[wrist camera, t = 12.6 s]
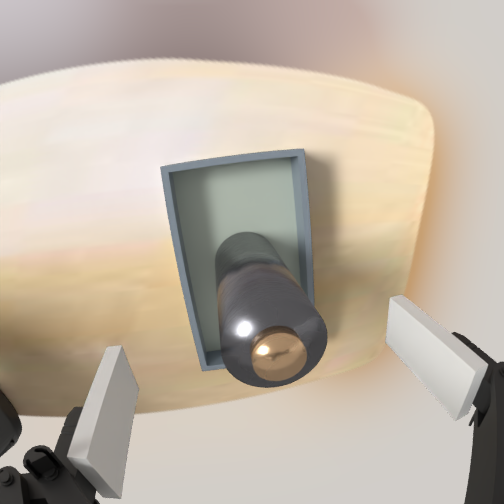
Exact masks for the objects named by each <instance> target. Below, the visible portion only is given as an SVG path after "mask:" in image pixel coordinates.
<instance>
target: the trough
mask: <svg viewBox="0 0 504 504" xmlns="http://www.w3.org/2000/svg"><path fill="white" fill-rule="evenodd" d="M160 168H161V175H162V182H163V188H164V195H165V201H166V207H167V213H168V219H169V224H170V230H171V235H172V241H173V246H174V251H175V256H176V261H177V266H178V271H179V276H180V281H181V285H182V290H183V295H184V299H185V304H186V308H187V312H188V317H189V321H190V325H191V329H192V333H193V337H194V341H195V345H196V349H197V353H198V357H199V361H200V365H201V369H202V371H209V370H217V369H224V368H226V367H225V365H224V363H223V360H222V356H221V347H220V334H219V321H218V308H217V293H216V277H215V255H216V252H217V250H218V248H219V246H220V245H221V244H222V242H223V241H224V240H225V239H227V238H228V237H230V236H231V235H233V234H236V233H240V232H254V233H257V234H260V235H262V236H263V237H265V238H266V239H267V240H268V241H269V242H270V243H271V244H272V246H273V247H274V249H275V250H276V251H277V253H278V254H279V256H280V257H281V259H282V260H283V262H284V263H285V265H286V266H287V267H288V269H289V270H290V272H291V273H292V275H293V276H294V278H295V279H296V281H297V282H298V284H299V285H300V286H301V288H302V289H303V291H304V292H305V294H306V295H307V297H308V298H309V300H310V301H311V303H312V304H313V306H314V281H313V259H312V241H311V225H310V211H309V198H308V185H307V174H306V163H305V153H304V149H290V150H278V151H268V152H258V153H249V154H241V155H233V156H225V157H217V158H210V159H203V160H197V161H190V162H184V163H178V164H172V165H167V166H162V167H160Z"/></svg>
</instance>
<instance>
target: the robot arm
mask: <svg viewBox="0 0 504 504" xmlns="http://www.w3.org/2000/svg"><path fill="white" fill-rule="evenodd" d="M385 343H386V344H387V345H388V346H389V347H390V348H391V349H392V350H393V351H394V352H395V353H396V355H397V356H399V358H400V359H401V360H402V361H403V362H404V363H405V365H406V366H407V367H408V368H409V369H410V370H411V371H412V372H413V373H414V375H415V376H416V377H417V378H418V379H419V380H420V381H421V382H422V384H423V385H424V386H425V387H426V388H427V389H428V390H429V392H430V393H431V394H432V395H433V396H434V397H435V398H436V400H437V401H438V402H439V403H440V404H441V405H442V406H443V408H444V409H445V410H446V411H447V412H448V413H449V415H450V416H451V417H452V418H453V419H454V420H455V421H457V420H458V419H460V418H462V417H463V416H465V415H467V414H468V413H469V410H470V408H471V406H472V404H473V405H474V406H475V407H476V410H475V413H474V415H473V417H472V419H471V421H470V423H469V426H471V425H472V423H473V421H474V433H473V446H472V456H471V465H470V473H469V480H468V486H467V492H466V497H465V503H464V504H504V362H499V363H496V362H495V361H494V360H493V359H492V358H490V357H489V356H488V355H487V354H486V353H484V352H483V351H482V350H481V349H480V348H477V346H476V345H475V344H473V343H471V341H470V340H468V339H467V338H466V337H465V336H463V335H461V334H458V333H456V332H453V333H450V332H449V331H448V330H446V329H445V328H444V327H443V326H442V325H440V324H439V323H438V322H437V321H435V320H434V319H433V318H432V317H430V316H429V315H428V314H427V313H425V312H424V311H423V310H421V309H420V308H419V307H417V306H416V305H415V304H414V303H412V302H411V301H410V300H409V299H407V298H406V297H405V296H403V295H402V294H401V295H398V296H394V297H390V301H389V312H388V322H387V331H386V339H385ZM138 392H139V387H138V385H137V383H136V380H135V378H134V375H133V373H132V371H131V368H130V366H129V363H128V360H127V358H126V355H125V353H124V350H123V347H122V345H120V346H109V347H107V348H106V351H105V353H104V356H103V358H102V360H101V363H100V365H99V368H98V370H97V373H96V375H95V378H94V380H93V383H92V386H91V388H90V391H89V393H88V396H87V399H86V401H85V404H84V407H74V408H73V410H72V411H71V412H70V413H69V414H68V415H67V418H66V420H65V423H64V427H63V428H62V431H61V434H60V436H59V439H58V442H57V445H56V447H55V450H54V453H53V452H52V450H51V449H50V448H49V447H46V446H41V445H39V446H35V447H33V448H31V449H30V450H29V451H27V453H26V454H25V456H24V459H23V464H24V467H25V468H26V469H27V470H28V471H29V472H30V473H26V474H20V473H19V472H18V471H17V470H16V469H15V468H14V467H11V466H6V467H3V468H1V469H0V504H100V503H99V502H98V501H97V500H96V499H95V494H96V491H98V493H99V494H100V495H101V496H102V497H105V498H118V499H121V496H122V487H123V480H124V473H125V466H126V459H127V452H128V446H129V441H130V434H131V429H132V423H133V418H134V413H135V407H136V402H137V397H138ZM21 432H22V425H21V421H20V419H19V417H18V415H17V413H16V411H15V409H14V408H13V406H12V405H11V403H10V402H9V401H8V399H7V398H6V397H5V396H4V395H3V393H2V392H1V391H0V457H1V456H2V455H3V454H4V453H6V452H7V451H8V450H9V449H10V448H11V447H12V446H14V445H15V443H16V442H17V441H18V438H19V436H20V434H21Z"/></svg>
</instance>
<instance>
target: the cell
mask: <svg viewBox="0 0 504 504" xmlns="http://www.w3.org/2000/svg"><path fill="white" fill-rule="evenodd" d="M215 277H216V293H217V308H218V321H219V334H220V347H221V356H222V360H223V363H224V365H225V367H226V368H227V370H228V371H229V372H230V373H231V374H232V375H233V376H234V377H235V378H236V379H238V380H240V381H241V382H243V383H246V384H248V385H251V386H256V387H265V388H269V387H279V386H283V385H287V384H289V383H292V382H294V381H296V380H298V379H300V378H302V377H303V376H305V375H306V374H308V373H309V372H310V371H311V370H312V369H313V368H314V367H315V366H316V365H317V364H318V362H319V361H320V359H321V358H322V356H323V354H324V351H325V349H326V345H327V329H326V326H325V323H324V321H323V319H322V318H321V316H320V315H319V313H318V312H317V310H316V309H315V307H314V306H313V304H312V303H311V301H310V300H309V298H308V297H307V295H306V294H305V292H304V291H303V289H302V288H301V286H300V285H299V284H298V282H297V281H296V279H295V278H294V276H293V275H292V273H291V272H290V270H289V269H288V267H287V266H286V265H285V263H284V262H283V260H282V259H281V257H280V256H279V254H278V253H277V251H276V250H275V249H274V247H273V246H272V244H271V243H270V242H269V241H268V240H267V239H266V238H265V237H263V236H262V235H260V234H257V233H254V232H240V233H236V234H233V235H231V236H230V237H228V238H227V239H225V240H224V241H223V242H222V244H221V245H220V246H219V248H218V250H217V252H216V255H215Z"/></svg>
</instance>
